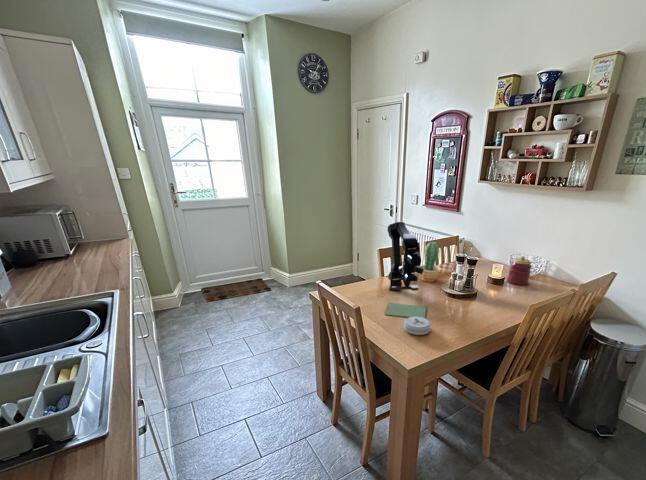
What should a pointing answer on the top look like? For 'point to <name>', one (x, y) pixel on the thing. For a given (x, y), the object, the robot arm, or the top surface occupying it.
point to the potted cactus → (431, 263)
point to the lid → (417, 325)
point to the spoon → (412, 287)
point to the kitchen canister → (519, 271)
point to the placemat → (406, 310)
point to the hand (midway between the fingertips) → (406, 287)
